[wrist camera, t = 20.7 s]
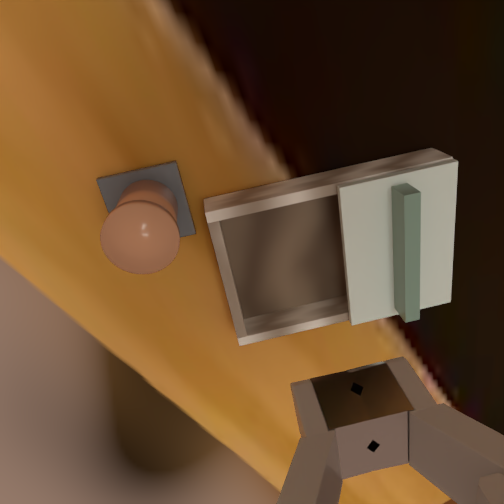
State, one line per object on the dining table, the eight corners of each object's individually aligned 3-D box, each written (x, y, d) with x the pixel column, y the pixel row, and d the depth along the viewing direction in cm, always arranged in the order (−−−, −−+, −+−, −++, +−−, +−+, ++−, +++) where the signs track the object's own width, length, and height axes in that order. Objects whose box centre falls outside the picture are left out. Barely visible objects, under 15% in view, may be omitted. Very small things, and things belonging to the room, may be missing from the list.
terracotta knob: (171, 169, 36) (167, 196, 30) (188, 228, 39) (188, 264, 33) (105, 184, 36) (88, 214, 30) (127, 242, 39) (115, 281, 32)
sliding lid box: (431, 147, 39) (452, 156, 36) (428, 279, 46) (446, 297, 43) (203, 198, 38) (204, 212, 35) (236, 325, 45) (239, 346, 42)
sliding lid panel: (453, 159, 36) (475, 169, 33) (446, 298, 43) (464, 315, 40) (336, 185, 35) (349, 197, 33) (349, 321, 42) (360, 340, 40)
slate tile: (176, 160, 36) (175, 162, 36) (195, 231, 40) (195, 233, 39) (97, 178, 36) (96, 180, 36) (124, 247, 39) (123, 250, 39)
